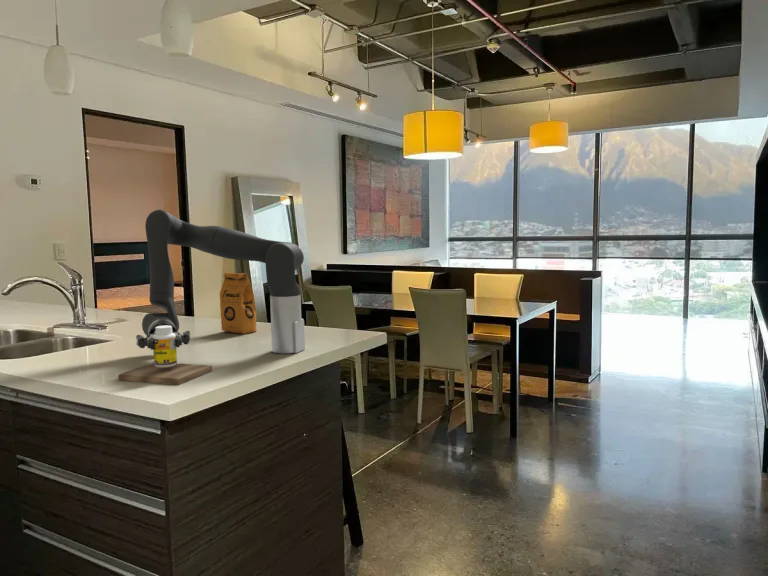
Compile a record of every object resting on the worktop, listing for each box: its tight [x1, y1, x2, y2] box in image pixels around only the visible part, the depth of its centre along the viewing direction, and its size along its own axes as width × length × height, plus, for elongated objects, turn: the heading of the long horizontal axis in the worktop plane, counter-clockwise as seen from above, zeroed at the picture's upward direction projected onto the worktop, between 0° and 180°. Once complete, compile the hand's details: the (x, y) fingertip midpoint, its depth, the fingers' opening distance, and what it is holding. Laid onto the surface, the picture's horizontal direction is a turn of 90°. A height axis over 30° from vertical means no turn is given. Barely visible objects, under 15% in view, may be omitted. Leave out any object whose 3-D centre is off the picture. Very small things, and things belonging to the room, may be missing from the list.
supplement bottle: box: [152, 325, 178, 368], centre depth 150 cm, size 6×6×10 cm
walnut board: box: [117, 362, 213, 386], centre depth 150 cm, size 18×14×2 cm
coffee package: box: [219, 272, 257, 335], centre depth 213 cm, size 10×12×22 cm
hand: (165, 344), depth 147 cm, fingers closed on supplement bottle, 5 cm apart
